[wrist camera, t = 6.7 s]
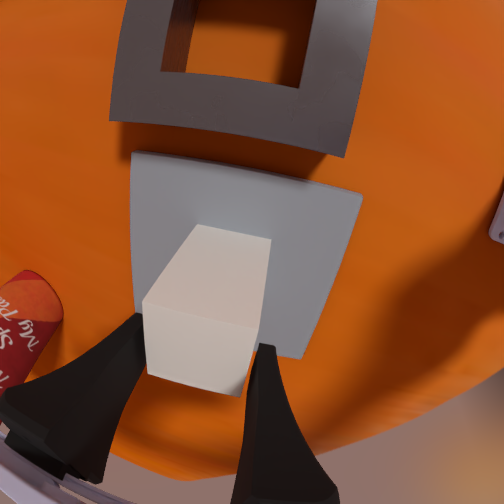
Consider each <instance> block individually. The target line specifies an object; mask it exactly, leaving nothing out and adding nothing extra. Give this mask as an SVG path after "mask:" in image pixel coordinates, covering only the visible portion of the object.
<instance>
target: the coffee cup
mask: <svg viewBox="0 0 504 504" xmlns="http://www.w3.org/2000/svg"><path fill="white" fill-rule="evenodd" d="M62 318H63V307H62V304H61V302H60V299H59V298H58V296H57V294H56V292H55V291H54V290H53V288H52V287H51V286H50V285H49V283H48V282H47V281H46V280H45V279H43V278H42V277H41V276H40V275H38V274H37V273H35V272H33V271H30V270H24V271H22V272H20V273H19V274H17V275H16V276H15V277H13V278H12V279H11V280H10V281H8V282H7V283H6V284H5V285H3V286H2V287H1V288H0V397H1V395H2V394H3V392H4V391H5V389H6V388H8V387H12V386H16V385H19V384H23V383H24V381H25V380H26V378H27V376H28V374H29V373H30V371H31V369H32V367H33V365H34V364H35V362H36V360H37V359H38V357H39V355H40V354H41V352H42V350H43V349H44V347H45V346H46V344H47V342H48V341H49V339H50V338H51V336H52V335H53V333H54V331H55V330H56V328H57V327H58V325H59V323H60V322H61V320H62ZM1 423H2V421H1V420H0V425H1Z"/></svg>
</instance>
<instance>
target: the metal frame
mask: <svg viewBox="0 0 504 504" xmlns="http://www.w3.org/2000/svg"><path fill="white" fill-rule="evenodd" d="M198 4H199V0H127V3H126V8H125V12H124V17H123V21H122V26H121V31H120V37H119V42H118V48H117V54H116V61H115V68H114V75H113V84H112V93H111V103H110V115H109V121H122V122H137V123H150V124H161V125H171V126H180V127H188V128H196V129H203V130H210V131H217V132H224V133H230V134H236V135H242V136H248V137H253V138H258V139H264V140H269V141H274V142H278V143H283V144H288V145H292V146H297V147H301V148H305V149H310V150H314V151H318V152H322V153H326V154H330V155H334V156H337V157H341V158H344V156H345V152H346V148H347V144H348V141H349V137H350V133H351V128H352V124H353V120H354V116H355V112H356V108H357V103H358V99H359V94H360V90H361V85H362V81H363V76H364V71H365V66H366V61H367V56H368V51H369V46H370V40H371V35H372V29H373V24H374V18H375V12H376V5H377V0H316V1H315V6H314V11H313V16H312V21H311V26H310V31H309V36H308V41H307V46H306V51H305V56H304V61H303V66H302V71H301V76H300V81H299V85H298V89H297V88H293V87H288V86H283V85H278V84H272V83H267V82H261V81H255V80H248V79H241V78H234V77H226V76H217V75H207V74H195V73H185V70H186V64H187V58H188V53H189V47H190V42H191V37H192V32H193V27H194V22H195V17H196V13H197V8H198Z"/></svg>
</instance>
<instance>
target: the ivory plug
mask: <svg viewBox="0 0 504 504" xmlns="http://www.w3.org/2000/svg"><path fill="white" fill-rule="evenodd" d="M270 247H271V239H266V238H262V237H257V236H252V235H247V234H243V233H238V232H233V231H228V230H223V229H219V228H214V227H209V226H204V225H199V224H197V225H196V226H195V228H194V229H193V230H192V232H191V233H190V234H189V236H188V237H187V238H186V240H185V241H184V242H183V244H182V245H181V247H180V248H179V249H178V251H177V252H176V253H175V255H174V256H173V258H172V259H171V260H170V262H169V263H168V265H167V266H166V267H165V269H164V270H163V272H162V273H161V274H160V276H159V277H158V279H157V280H156V282H155V283H154V285H153V286H152V287H151V289H150V290H149V292H148V293H147V295H146V296H145V298H144V299H143V301H142V311H143V327H144V340H145V352H146V362H147V371H148V374H150V375H154V376H157V377H160V378H164V379H167V380H171V381H174V382H178V383H181V384H185V385H189V386H193V387H196V388H200V389H205V390H209V391H213V392H217V393H222V394H226V395H231V396H236V397H240V396H241V393H242V389H243V385H244V382H245V378H246V375H247V371H248V367H249V364H250V360H251V356H252V353H253V349H254V345H255V342H256V338H257V334H258V330H259V324H260V318H261V311H262V304H263V297H264V290H265V283H266V276H267V268H268V261H269V254H270Z"/></svg>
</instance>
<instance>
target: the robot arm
mask: <svg viewBox="0 0 504 504" xmlns="http://www.w3.org/2000/svg"><path fill="white" fill-rule="evenodd" d="M500 232H501V234H500ZM499 234H500V235H499ZM489 236H490V238H492V239H493V240H495V241H497V242H500V243H502V244H504V193H503V196H502V198H501V201H500V204H499V206H498V209H497V212H496V214H495V217H494V219H493V222H492V224H491V226H490V229H489ZM145 365H146V352H145V340H144V327H143V314H141V313H137V312H136V313H135V314H133V315H132V316H131V317H130V318H129V319H128V320H126V321H125V322H124V323H123V324H122V325H121V326H119V327H118V328H117V329H116V330H115V331H113V332H112V333H111V334H110V335H108V336H107V337H106V338H105V339H103V340H102V341H101V342H100V343H98V344H97V345H96V346H94V347H93V348H91V349H90V350H89V351H87V352H86V353H84V354H83V355H81V356H80V357H78V358H77V359H75V360H73V361H72V362H70V363H68V364H67V365H65V366H63V367H61V368H59V369H57V370H55V371H53V372H51V373H49V374H47V375H44V376H42V377H39V378H37V379H34V380H32V381H29V382H26V383H23V384H19V385H16V386H12V387H8V388H6V389H5V391H4V392H3V394H2V395H1V397H0V420H1V421H2V422H3V423H4V424H5V425H6V426H7V427H8V428H9V429H10V431H9V433H8V435H5V434H4V433H3V432H1V431H0V489H1V490H2V491H3V492H4V493H5V494H7V495H8V496H9V497H10V498H11V499H12V500H14V501H15V502H17V503H18V504H86V503H84V502H82V501H80V500H79V499H77V498H76V497H74V496H72V495H70V494H68V493H66V492H65V491H63V490H61V489H60V487H59V484H60V485H62V486H63V487H65V488H67V489H69V490H71V491H73V492H75V493H77V494H79V495H81V496H83V497H85V498H87V499H89V500H91V501H93V502H95V503H98V504H135V503H133V502H130V501H127V500H124V499H122V498H119V497H117V496H114V495H112V494H110V493H107V492H105V491H103V490H100V489H98V488H96V487H93V486H91V485H89V484H87V483H85V482H83V481H81V480H79V479H82V480H84V481H89V482H91V483H93V484H99V483H101V482H102V481H103V476H104V471H105V467H106V462H107V458H108V455H109V451H110V447H111V444H112V441H113V437H114V434H115V431H116V428H117V425H118V422H119V419H120V417H121V414H122V411H123V409H124V407H125V404H126V402H127V400H128V398H129V397H130V395H131V393H132V391H133V389H134V387H135V385H136V383H137V381H138V379H139V377H140V375H141V373H142V371H143V369H144V367H145ZM230 504H340V499H339V493H338V489H337V486H336V485H335V484H334V483H333V481H332V480H331V479H330V478H329V476H328V475H327V474H326V472H325V471H324V470H323V468H322V467H321V465H320V464H319V462H318V461H317V459H316V458H315V456H314V454H313V453H312V451H311V449H310V448H309V446H308V444H307V443H306V441H305V439H304V437H303V435H302V433H301V431H300V429H299V427H298V424H297V422H296V420H295V418H294V415H293V413H292V410H291V408H290V405H289V402H288V399H287V396H286V393H285V390H284V386H283V383H282V379H281V375H280V371H279V366H278V361H277V354H276V347H275V346H274V345H270V344H264V343H259V346H258V349H257V353H256V356H255V359H254V363H253V366H252V370H251V374H250V379H249V384H248V390H247V398H246V410H245V423H244V435H243V444H242V449H241V455H240V460H239V465H238V470H237V475H236V480H235V485H234V489H233V494H232V498H231V503H230Z"/></svg>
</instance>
